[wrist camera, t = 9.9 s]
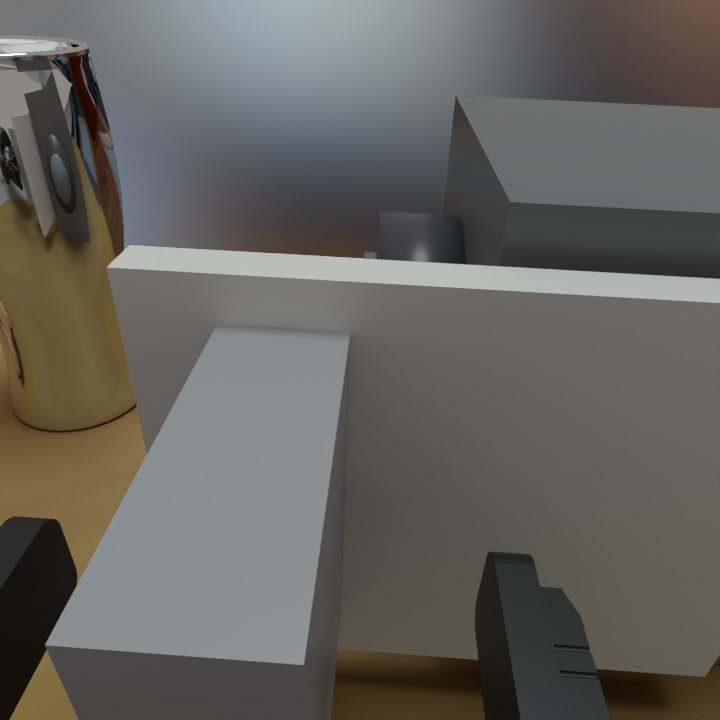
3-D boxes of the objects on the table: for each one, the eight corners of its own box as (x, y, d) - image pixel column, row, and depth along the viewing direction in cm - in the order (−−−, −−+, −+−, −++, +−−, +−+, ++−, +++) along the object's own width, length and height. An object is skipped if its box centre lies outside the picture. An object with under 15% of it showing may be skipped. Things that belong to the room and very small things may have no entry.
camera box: (795, 432, 28) (995, 89, 19) (1028, 694, 17) (1655, 205, 9) (361, 404, 28) (378, 59, 20) (341, 642, 18) (357, 138, 10)
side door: (689, 641, 16) (903, 289, 10) (851, 1009, 10) (1568, 691, 4) (197, 605, 17) (129, 245, 11) (89, 940, 11) (-198, 560, 5)
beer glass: (176, 409, 27) (113, 52, 19) (10, 459, 24) (-150, 57, 16) (139, 341, 32) (76, 34, 24) (-3, 375, 29) (-131, 34, 21)
